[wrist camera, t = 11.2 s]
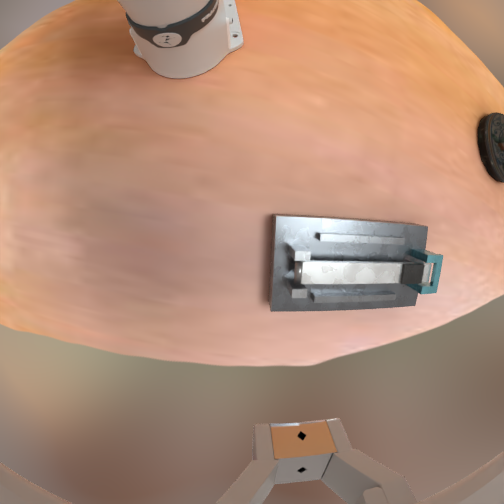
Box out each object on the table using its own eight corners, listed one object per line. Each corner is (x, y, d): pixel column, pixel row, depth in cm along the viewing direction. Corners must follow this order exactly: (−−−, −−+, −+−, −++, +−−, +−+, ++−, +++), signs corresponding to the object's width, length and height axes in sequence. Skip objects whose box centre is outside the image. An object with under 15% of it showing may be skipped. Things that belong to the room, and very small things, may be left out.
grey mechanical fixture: (272, 214, 41) (281, 218, 33) (417, 223, 42) (446, 230, 34) (268, 301, 44) (274, 324, 36) (406, 297, 45) (431, 315, 37)
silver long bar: (294, 259, 36) (296, 263, 35) (427, 262, 37) (433, 264, 36) (292, 281, 37) (295, 285, 35) (424, 280, 38) (430, 283, 36)
